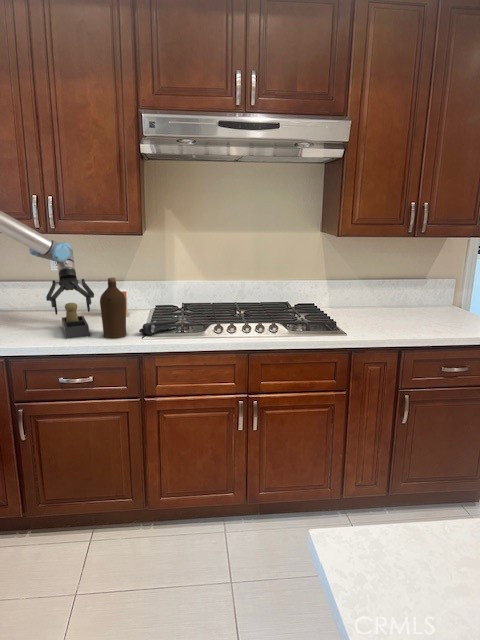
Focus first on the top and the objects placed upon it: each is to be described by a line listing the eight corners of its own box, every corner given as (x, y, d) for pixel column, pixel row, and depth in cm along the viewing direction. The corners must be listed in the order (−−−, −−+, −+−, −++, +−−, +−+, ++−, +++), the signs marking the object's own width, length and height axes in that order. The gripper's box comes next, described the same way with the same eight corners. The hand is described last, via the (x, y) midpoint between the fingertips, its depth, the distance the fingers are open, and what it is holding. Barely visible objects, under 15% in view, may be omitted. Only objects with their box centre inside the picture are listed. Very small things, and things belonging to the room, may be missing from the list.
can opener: (145, 337, 197) (145, 325, 195) (137, 334, 202) (137, 321, 200) (180, 330, 208) (180, 318, 207) (172, 326, 213) (171, 315, 212)
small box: (110, 317, 228) (109, 291, 224) (111, 314, 234) (109, 288, 230) (127, 316, 230) (126, 291, 226) (127, 313, 236) (126, 288, 232)
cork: (82, 326, 209) (80, 302, 206) (71, 329, 204) (69, 305, 201) (73, 324, 212) (71, 301, 209) (62, 327, 207) (60, 303, 204)
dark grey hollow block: (65, 338, 194) (64, 327, 193) (62, 327, 210) (61, 317, 209) (89, 336, 198) (88, 325, 197) (84, 325, 214) (83, 315, 212)
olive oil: (130, 337, 197) (127, 279, 191) (105, 340, 193) (101, 281, 186) (124, 331, 206) (121, 275, 200) (99, 333, 202) (96, 277, 195)
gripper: (37, 268, 206) (41, 309, 197) (95, 266, 216) (102, 304, 207) (38, 278, 212) (42, 318, 203) (94, 275, 222) (101, 313, 213)
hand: (72, 311), depth 205 cm, fingers open, 13 cm apart
